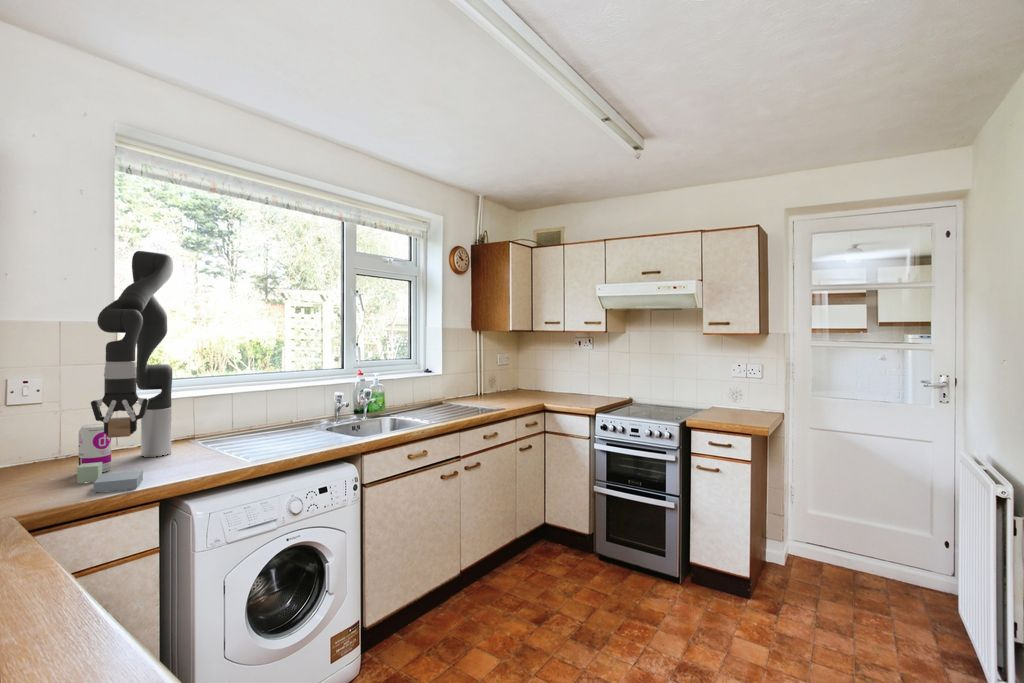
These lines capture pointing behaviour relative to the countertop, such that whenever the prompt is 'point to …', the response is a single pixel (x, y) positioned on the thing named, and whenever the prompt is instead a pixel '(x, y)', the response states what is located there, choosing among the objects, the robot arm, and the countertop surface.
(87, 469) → the sage cube
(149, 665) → the countertop surface
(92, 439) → the supplement can
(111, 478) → the slate base
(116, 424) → the walnut cube
